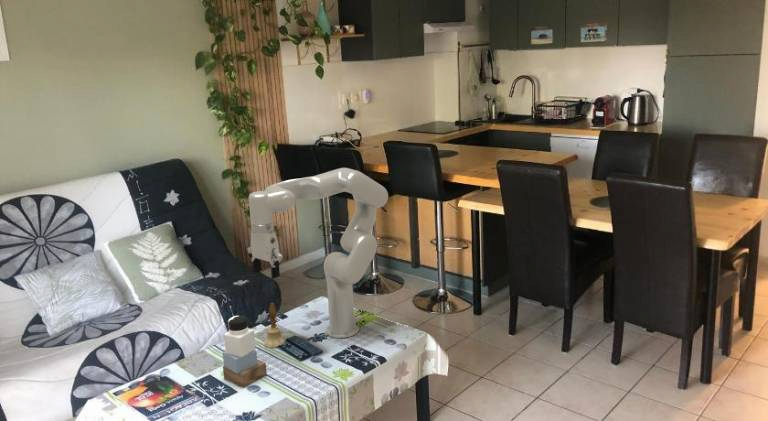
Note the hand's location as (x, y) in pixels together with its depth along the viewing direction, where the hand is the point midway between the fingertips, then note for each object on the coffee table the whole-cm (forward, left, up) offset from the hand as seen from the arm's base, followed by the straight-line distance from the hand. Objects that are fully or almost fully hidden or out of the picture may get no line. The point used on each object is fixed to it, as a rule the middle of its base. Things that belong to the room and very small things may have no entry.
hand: (266, 274), depth 229 cm
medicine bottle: (+18, +5, -21) cm, 28 cm away
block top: (+18, +5, -26) cm, 32 cm away
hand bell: (-6, -6, -31) cm, 32 cm away
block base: (+17, +5, -31) cm, 35 cm away
